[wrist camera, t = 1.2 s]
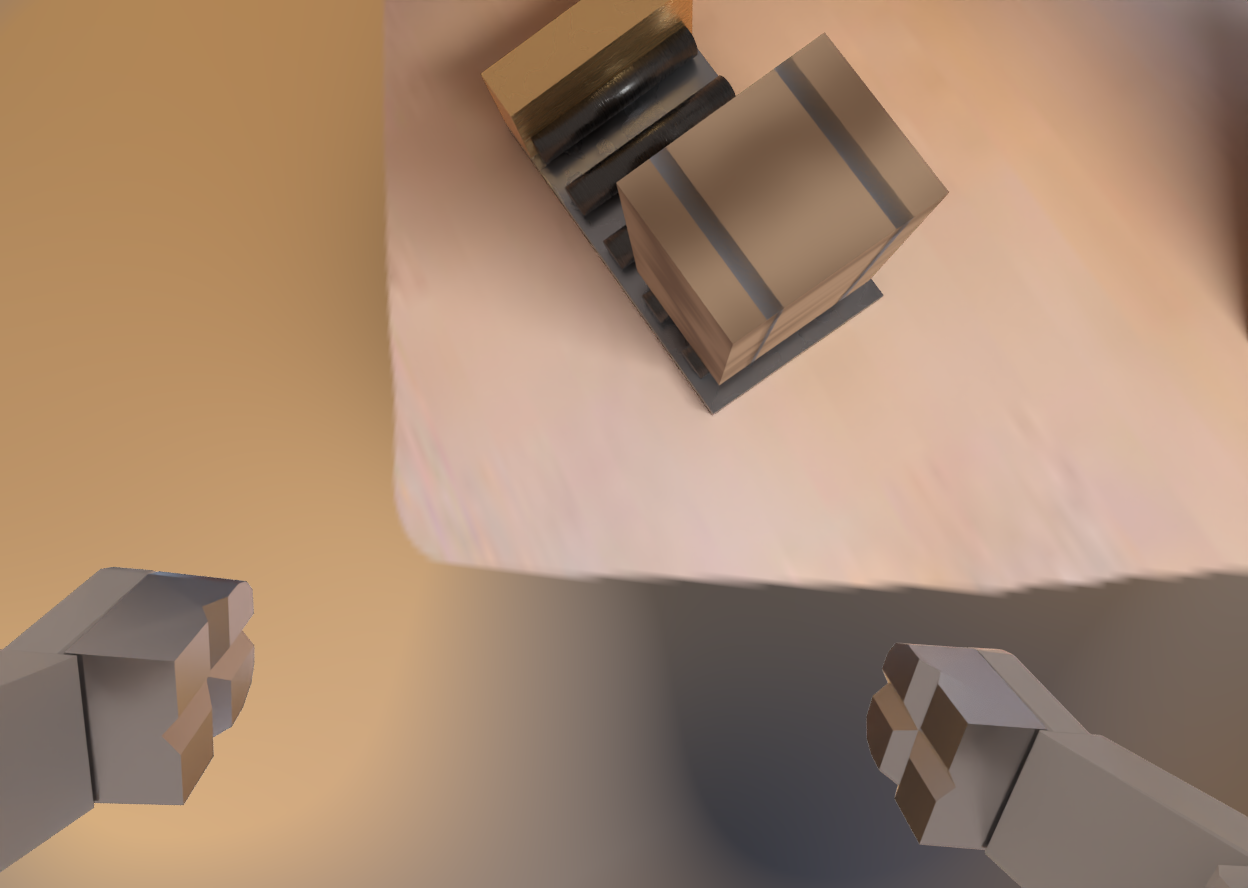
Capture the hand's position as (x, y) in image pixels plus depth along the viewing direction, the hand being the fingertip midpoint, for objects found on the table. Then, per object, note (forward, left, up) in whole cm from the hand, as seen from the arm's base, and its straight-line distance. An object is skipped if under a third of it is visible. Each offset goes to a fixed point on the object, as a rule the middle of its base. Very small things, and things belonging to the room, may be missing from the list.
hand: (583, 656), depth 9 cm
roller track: (-18, -2, -33) cm, 38 cm away
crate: (-14, +2, -30) cm, 34 cm away
